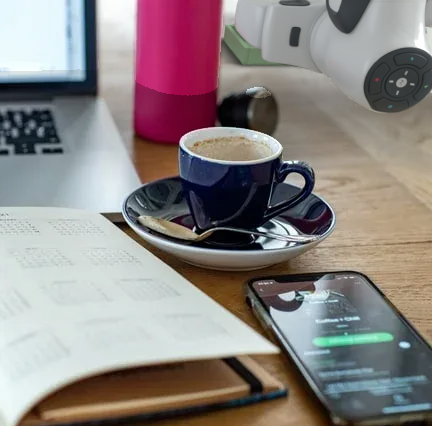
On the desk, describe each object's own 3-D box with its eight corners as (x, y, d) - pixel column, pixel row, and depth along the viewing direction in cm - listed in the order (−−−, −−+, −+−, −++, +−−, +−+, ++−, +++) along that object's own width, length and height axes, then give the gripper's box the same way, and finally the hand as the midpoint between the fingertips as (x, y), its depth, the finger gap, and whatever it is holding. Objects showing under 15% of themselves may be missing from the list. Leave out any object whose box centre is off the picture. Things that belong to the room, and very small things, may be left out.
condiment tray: (298, 44, 127) (301, 25, 126) (324, 68, 117) (327, 49, 116) (223, 43, 126) (225, 24, 124) (242, 67, 116) (244, 47, 114)
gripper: (439, 7, 96) (390, -22, 108) (257, 4, 94) (227, -25, 106) (427, 63, 99) (380, 29, 111) (250, 61, 97) (222, 26, 109)
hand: (304, 2), depth 108 cm, fingers open, 8 cm apart
